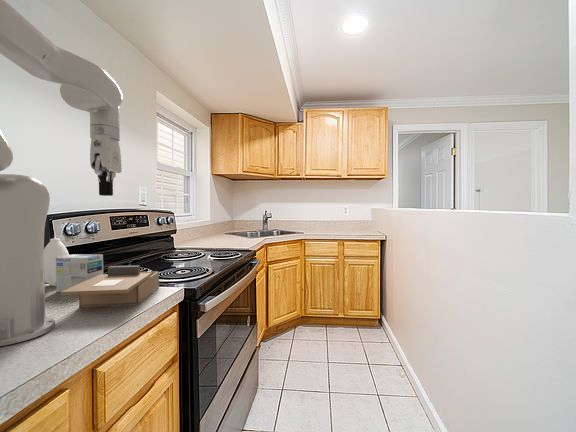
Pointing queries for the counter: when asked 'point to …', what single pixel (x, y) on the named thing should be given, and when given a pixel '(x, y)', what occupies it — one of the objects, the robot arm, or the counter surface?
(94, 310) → the counter surface
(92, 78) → the robot arm
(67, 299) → the counter surface
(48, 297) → the counter surface
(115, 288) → the lid
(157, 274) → the mailer box
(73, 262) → the light bulb box
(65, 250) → the sauce bottle
